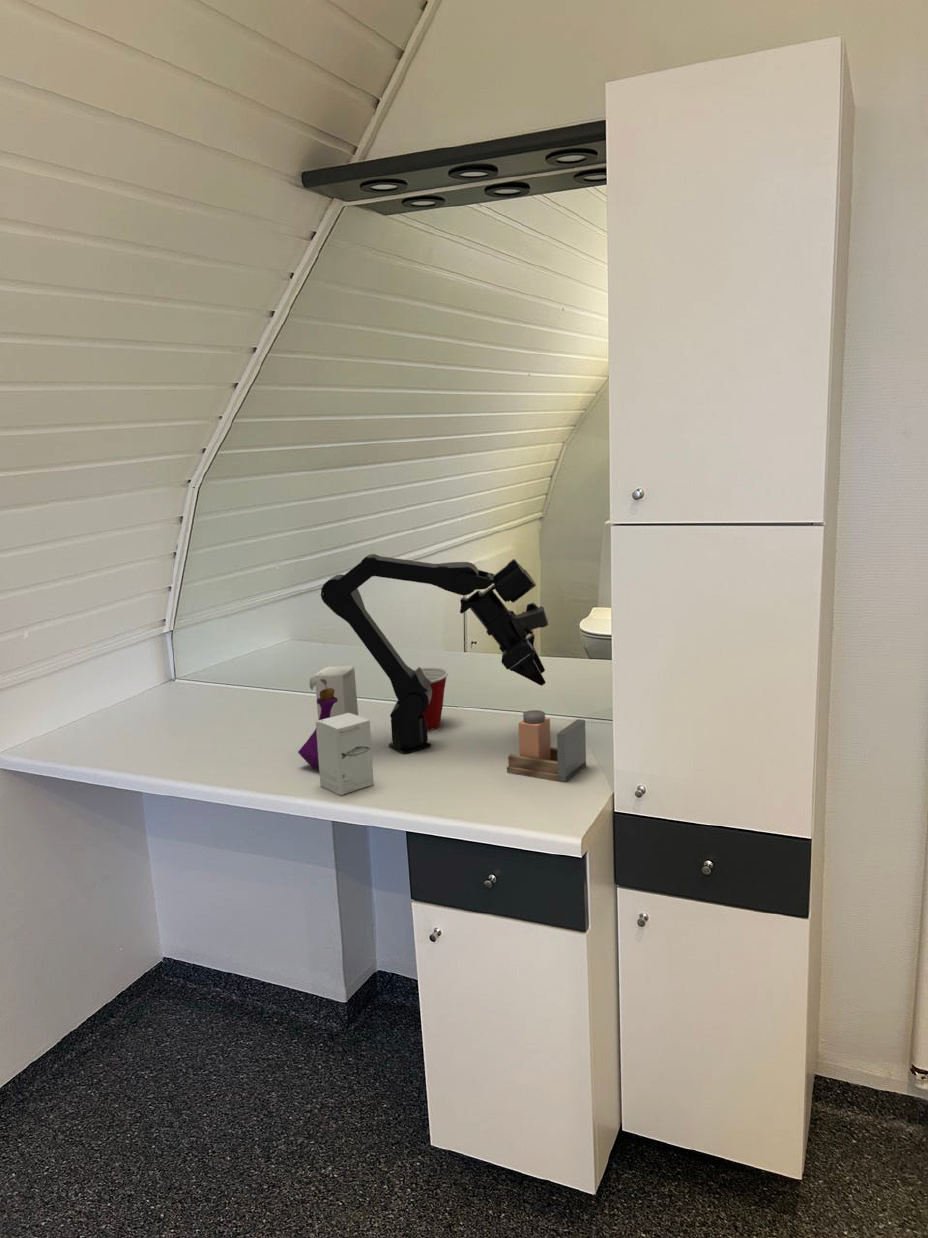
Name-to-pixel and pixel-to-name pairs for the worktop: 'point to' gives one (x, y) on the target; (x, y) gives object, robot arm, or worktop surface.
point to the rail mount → (556, 756)
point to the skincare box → (339, 689)
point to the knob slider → (535, 735)
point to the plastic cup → (434, 695)
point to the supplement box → (344, 753)
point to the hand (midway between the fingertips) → (543, 678)
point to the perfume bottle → (326, 703)
